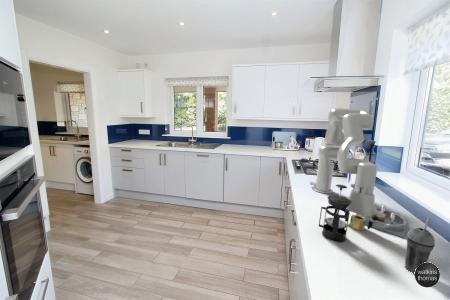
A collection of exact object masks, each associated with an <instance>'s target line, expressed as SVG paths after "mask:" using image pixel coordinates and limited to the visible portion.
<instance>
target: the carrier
mask: <svg viewBox="0 0 450 300" xmlns="http://www.w3.org/2000/svg"><path fill="white" fill-rule="evenodd" d="M375 208H376V209H377V210H378V211H380V212H381V213H382V214H383V215H382V216H381V217H380V218H379V219H378V220H375V221H373V225H372V228H371V229H375V230H378V231H381V232H385V233H387V234H390V235H393V236H396V237H400V238H402V239H404V237H405V233H406V228H407V223H408V219H407V218H406V219H405V218H404V217H402V216H401V215H400V214H397V213H395V212H393V211H390V210H387V209H386V205H384V204H382V205H381V207H375ZM355 215H359V216H362V217H364V218H365V219H366V221H365V227H368V222H369V220H370V219H369V217H367V216H363V215H360V214H357V213H355ZM372 215H373V217H375V216H377V214H376V213H375V212H374V211H373V214H372Z"/></svg>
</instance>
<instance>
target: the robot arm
mask: <svg viewBox="0 0 450 300" xmlns="http://www.w3.org/2000/svg"><path fill="white" fill-rule="evenodd" d="M374 122H375V121H374V117H373V116H372V115H371V114H370V113H369V112H366V111H365V110H363V109H356V108H355V109H354V108H342V107H341V108H339V107H338V108H337V107H335V108H332V109H331V110H330V111H329V113H328V126H327V129H326V132H325V137H324V143H325V145H321V146H320V147H319V148H318V164H317V171H316V173H317V174H316V181H309V185H311V186H312V190H313V191H315V192H317V193H321V194H327V195H328V194H332V193H333V189H332V180H333V175H334V174H333V173H334V169H335V168H334V164H333V163H332V161H337V165H338V170H339V171H340V173H343V174H348V175H355V180H354V183H353V184H351V183H350V188H353V189H351V191H350V193H349V195H348V199H349V200H350V201H351V204H349V206H348V207H347V208H344V209H346V210H348V211H349V212H350V213H354V214H360V215H363V216H367V217H369V219H370V220H369V222H368V226H367V227H366V228H367V230H370V229H373V228H372V225H373V221H375V220H378V219H379V218H380V217H381V216H382V215H383V214H382V213H381V212H380V211H378V210H377V209H376V208H377V207H376V206H375V197H376V196H375V193H374V189H375V183H376V178H377V174H378V173H377V172H378V165H376V164H375V163H372V162H371V161H370V160H368V159H364V158H363V159H362V158H354V157H353V158H352V157H351V158H349V157H348V155H349V152H350V149H351V147H354V146H358V145H360V144H362V143H363V142H364V141H365V137H364V131H365V130H366V131H368V130H371V129H372V128H373V126H374ZM373 211H374V212H375V213H376V214H377V216H375V217H373V215H372V214H373ZM343 213H344V215H348V214H347V213H346V212H344V211H343ZM343 219H344V222H345V223H347V220H348V218H343ZM348 221H349V220H348Z"/></svg>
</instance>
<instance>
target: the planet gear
mask: <svg viewBox="0 0 450 300" xmlns="http://www.w3.org/2000/svg"><path fill="white" fill-rule="evenodd" d="M365 221H366V219H365V218H364V217H362V216H359V215H356V214H351V216H350V222H349V227H350V228H351V229H353V230H356V231H364V230H365V227H366V225H365Z"/></svg>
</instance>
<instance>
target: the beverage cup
mask: <svg viewBox="0 0 450 300" xmlns="http://www.w3.org/2000/svg"><path fill="white" fill-rule="evenodd" d="M430 219H431V216H427V219H426V221H425V225H424V227H414V228H412V229H410V230H409V231H408V232H407V234H406V252H405V259H404V260H405V262H404V269H405V268H406V269H405V270H406V271H407V270H408V272H409V271H410V272H412V273H413V275H415V274H414V272H415V269H416V268H417V267H418V266H419V265H420V264H422V263H424V262H428V261H429V258H430V257H431V256H430V255H431V253H432V251H433V250H434V247H436V240H435V238H434V235H433V234H432V232H430V231H429V230H427V227H428V225H429V221H430ZM410 272H409V273H410ZM412 273H411V274H412Z"/></svg>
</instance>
